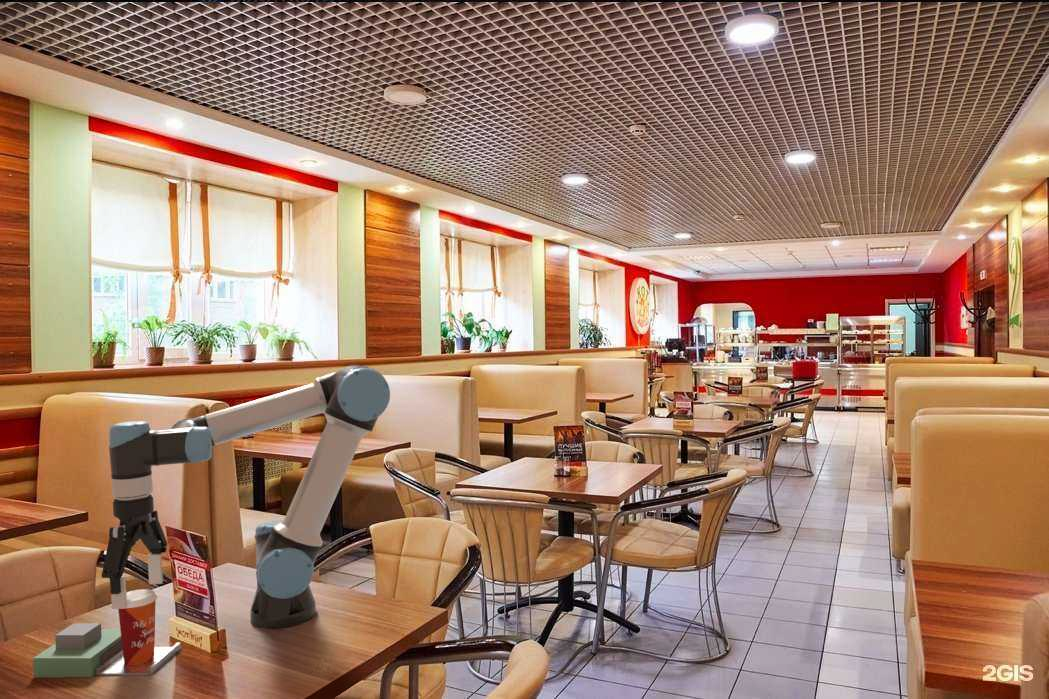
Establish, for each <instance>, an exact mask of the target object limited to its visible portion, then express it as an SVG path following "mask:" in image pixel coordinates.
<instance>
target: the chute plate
mask: <svg viewBox="0 0 1049 699" xmlns="http://www.w3.org/2000/svg"><path fill="white" fill-rule="evenodd" d="M181 649H182V643H181V642H175V644H174V645H172V646H154V658H153V659H152V660H151V661H149V662H147V663H145V664H142V665H137V666H128V665H126V664H125V663H124V656H123V648H122V649H120V650H119V651H118V652H116V653H115V654H114V655H112V656H111V657H110V658H108V659H107V660H106V661H104V662H103V663H102V664H100V665H99V666H98V667H96V668H95V675H94V676H152V675H153V674H154V673H156V672H157V671H158V670H159V669H160V668H161V667H162V666H164V664H165V663H167V662H168V661H169V660H170V659H171V658H172V657H174V656H175V654H177V653H178V652H179V651H180V650H181Z"/></svg>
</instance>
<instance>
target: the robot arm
mask: <svg viewBox="0 0 1049 699" xmlns="http://www.w3.org/2000/svg"><path fill="white" fill-rule="evenodd" d="M390 398H391V390H390V387H389V383H388V381H387V379H386V378H385V376H384V375H383V374H382V373H380V372H379V371H378V370H376V369H374V368H371V367H368V366H365V365H361V364H352V365H348V366H346V367H343V368H341V369H338V370H336V371H333V372H331V373H328V374H325V375H322V376H319V377H316V378H315V380H314V381H313V382H312V383H309V384H306V385H303V386H300V387H295V388H293V389H289V390H285V391H282V392H279V393H275V394H272V395H269V396H264V397H262V398H257V399H255V400H251V401H248V402H245V403H241V404H237V405H234V406H231V407H227V408H224V409H220V410H217V411H213V412H209V413H207V414H205V415H200V416H198V417H197V416H196V417H193V418H183V419H181V420H178V421H177V422H176V423H175V424H173V425H172V427H171V428H167V429H151V427H150V425H149V423H148V421H145V420H144V421H143V420H142V421H141V420H138V421H134V420H133V421H132V420H131V421H126V422H125V421H124V422H118V423H115V424H113V425H112V426H110V428H109V446H108V450H109V462H110V476H111V491H112V497H114V499H113V500H112V511H113V512H112V513H113V517H115V518H116V519H117V518H118V520H119V525H118V526H110V528H109V531H108V532H109V533H108V534H109V537H108V543H107V547H106V552H105V557H104V562H103V566H102V571H101V578H102V579H108V580H109V584H110V585H109V588H110V594H111V595H110V598H111V610H118V609H125V608H127V595H126V593H127V582H126V580H127V579H126V575H123V574H124V571H125V569H126V565H127V563H128V560H129V556H130V555H131V554H130V553H131V551H132V548H133V547H134V546H135V545H136V543H137V542H138V541H139V540H140V541H141V542H142V544H143V545H144V546H145V547H146V549H147V550H148V551H149V554H147V568H148V570H147V571H148V584H149V585H162V584H163V583H164V577H163V575H164V574H163V563H162V562H163V560H162V558H163V556H162V554H165V553H167V549H168V548H167V546H168V542H167V539H166V536H165V534H164V531H163V529H162V526H161V523H160V520H159V516H158V511H157V509H155V506H154V495H153V494H152V493H153V492H154V486H153V475H152V473H153V472H152V467H155V466H156V467H158V466H165V465H166V466H167V465H177V464H179V465H180V464H189V463H191V464H196V463H199V462H207V461H209V460H211V459H212V456H213V455H212V454H213V447H214V446H217V445H220V444H223V443H227V442H229V441H233V440H237V439H240V438H242V437H243V438H244V437H247V436H251V435H254V434H257V433H260V432H263V431H267V430H269V429H273V428H277V427H279V426H283V425H286V424H289V423H293V422H297V421H300V420H303V419H306V418H309V417H314V416H316V415H320V414H324V416H325V419H326V425H325V427H324V429H323V432H322V434H321V436H320V438H319V440H318V442H317V445H316V447H315V450H314V452H313V454H312V456H311V458H310V461H309V463H308V465H307V467H306V469H305V472H304V473H303V477H302V479H301V481H300V483H299V485H298V487H297V490H296V493H295V495H294V496H293V498H292V501H291V503H290V505H289V508H288V510H287V512H286V515H285V516H284V519H282V520H274V521H268V522H264V523H263V522H262V523H261V524H258V525H257V526H256V528H255V535H254V540H255V560H256V561H255V562H256V564H255V566H256V573H255V575H256V590H255V593H254V598H253V600H252V603H251V608H250V611H249V612H250V613H249V614H250V616H249V617H250V622H251V623H252V625H253V626H256V627H259V628H265V629H273V628H274V629H277V628H280V629H281V628H286V627H287V628H288V627H291V626H295V625H298V624H301V623H304V622H306V621H308V620H310V619H311V618H312V617H314V616H315V615H316V613H317V608H316V605H317V603H316V600H315V597H314V594H313V592H312V589H311V587H310V584H311V582H312V580H313V577H314V573H315V566H314V565H315V563H316V560H317V558H318V556H319V555H320V554H319V553H320V550H321V548H322V546H323V544H324V542H323V539H322V538H321V532H322V530H323V528H324V525H325V523H326V520H327V518H328V515H329V513H330V511H331V509H332V506H333V504H334V502H335V500H336V498H337V496H338V493H339V492H340V489H341V486H342V484H343V482H344V480H345V477H346V475H347V472H348V470H349V469H350V466H351V464H352V461H353V459H354V456H355V454H356V452H357V450H358V449H359V445H360V443H361V440H362V438H363V437H364V436H367V435H369V434H371V433H372V432H373V430H374V428H375V425H376V423H377V421H378V419H379V417H380V416H382V414H383V413H384V412H385V411H386V409H387V408H388V405H389V403H390V400H391V399H390Z"/></svg>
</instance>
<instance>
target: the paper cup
mask: <svg viewBox="0 0 1049 699" xmlns="http://www.w3.org/2000/svg"><path fill="white" fill-rule="evenodd" d="M126 595H127V608H125V609H117V610H118V620H119V629H120V630H121V639H122V648H123V656H124V663H125V664H126V665H128V666H137V665H142V664H145V663H147V662H149V661H151V660H152V659H153V658H154V647H155V642H156V639H155V638H156V601H157V599H158V596H157V595H156V592H155V591H154V590H152V589H147V588H142V589H134V590H130V591H126Z"/></svg>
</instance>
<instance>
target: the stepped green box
mask: <svg viewBox="0 0 1049 699" xmlns="http://www.w3.org/2000/svg"><path fill="white" fill-rule="evenodd" d="M54 637H55V638H54V639H55V643H54V644H53V645H51V646H49V647H48V648H46V649H45V650H43V651H42V652H40V653H39V654H37V655H35V656H34V657H33V658H32V660H33V661H32V664H33V678H59V679H61V678H60V677H91V678H93V677H94V676H96V675H95V668H96V667H98V666H99V665H100V664H102V663H103V662H104V661H106V660H107V659H108V658H110V657H111V656H112V655H114V654H115V653H116V652H118V651H119V650H120V649H122V639H121V630H120V628H102V623H100V622H97V623H96V622H94V623H93V622H92V623H90V622H88V623H87V622H86V623H85V622H84V623H83V622H75V623H72V624H71V625H69V626H67V627H65V628H64V629H62V630H61V631H60V632H58V633H57V634H55V635H54ZM93 675H94V676H93ZM92 676H93V677H92Z"/></svg>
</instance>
